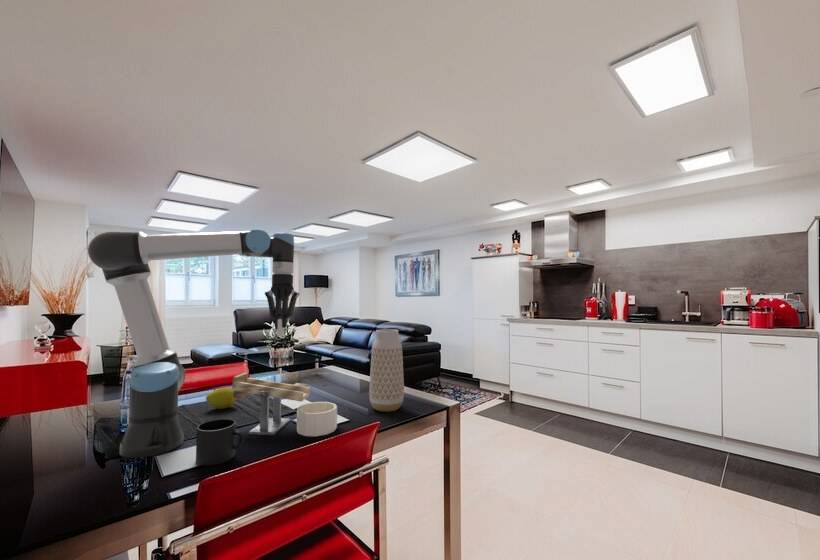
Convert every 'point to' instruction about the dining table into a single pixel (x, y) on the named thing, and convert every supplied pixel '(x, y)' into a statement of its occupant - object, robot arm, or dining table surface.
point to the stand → (268, 424)
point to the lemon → (221, 398)
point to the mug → (216, 441)
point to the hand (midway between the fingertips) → (280, 336)
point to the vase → (386, 371)
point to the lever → (268, 388)
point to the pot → (316, 418)
